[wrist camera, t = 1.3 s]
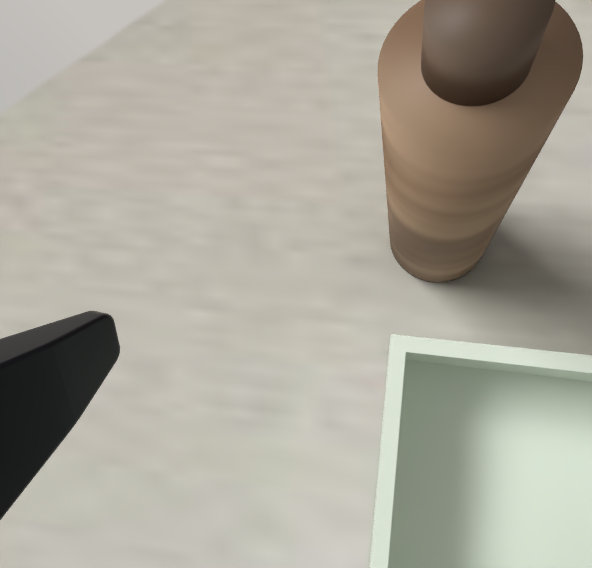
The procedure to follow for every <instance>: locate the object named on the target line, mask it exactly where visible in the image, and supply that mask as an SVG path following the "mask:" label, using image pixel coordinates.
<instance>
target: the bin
mask: <svg viewBox="0 0 592 568" xmlns="http://www.w3.org/2000/svg"><path fill="white" fill-rule="evenodd" d="M369 568H592V355H583V354H574V353H564V352H555V351H545V350H536V349H526V348H517V347H507V346H498V345H489V344H479V343H470V342H460V341H451V340H441V339H432V338H422V337H413V336H403V335H394V334H391V337H390V348H389V359H388V370H387V381H386V392H385V403H384V414H383V425H382V436H381V447H380V458H379V469H378V480H377V491H376V502H375V512H374V523H373V534H372V545H371V556H370V567H369Z"/></svg>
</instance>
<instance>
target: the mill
mask: <svg viewBox="0 0 592 568" xmlns="http://www.w3.org/2000/svg"><path fill="white" fill-rule="evenodd" d="M582 62H583V49H582V42H581V39H580V35H579V32H578V30H577V28H576V26H575V24H574V22H573V21H572V19H571V18H570V16H569V15H568V13H567V12H566V11H565V10H564V9H563V8H562V7H561V6H560V5H559V4H558V3H556V2H555V0H421V1H419V2H418V3H417V4H415V5H414V6H413V7H411V8H410V9H409V10H408V11H407V12H406V13H405V14H403V15H402V16H401V18H400V19H399V20H398V21H397V22H396V23H395V25H394V26H393V27H392V29H391V30H390V32H389V33H388V35H387V37H386V39H385V41H384V43H383V46H382V49H381V52H380V56H379V61H378V85H379V98H380V112H381V125H382V139H383V152H384V166H385V179H386V192H387V206H388V219H389V233H390V244H391V249H392V252H393V255H394V257H395V259H396V260H397V262H398V263H399V264H400V266H401V267H402V268H403V269H404V270H405V271H407V272H408V273H410V274H411V275H413V276H415V277H417V278H419V279H422V280H426V281H432V282H444V281H450V280H453V279H456V278H459V277H461V276H463V275H465V274H466V273H468V272H469V271H470V270H471V269H472V268H474V267H475V265H476V264H477V263H478V262H479V260H480V259H481V257H482V255H483V253H484V252H485V250H486V248H487V246H488V244H489V243H490V241H491V239H492V237H493V235H494V234H495V232H496V230H497V228H498V226H499V225H500V223H501V221H502V219H503V217H504V216H505V214H506V212H507V210H508V208H509V207H510V205H511V203H512V201H513V199H514V198H515V196H516V194H517V192H518V190H519V189H520V187H521V185H522V183H523V181H524V180H525V178H526V176H527V174H528V172H529V171H530V169H531V167H532V165H533V163H534V162H535V160H536V158H537V156H538V154H539V153H540V151H541V149H542V147H543V145H544V144H545V142H546V140H547V138H548V136H549V135H550V133H551V131H552V129H553V127H554V126H555V124H556V122H557V120H558V119H559V117H560V115H561V113H562V111H563V110H564V108H565V106H566V104H567V102H568V101H569V99H570V97H571V95H572V93H573V92H574V90H575V87H576V85H577V83H578V80H579V78H580V74H581V70H582Z"/></svg>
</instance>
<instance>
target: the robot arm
mask: <svg viewBox="0 0 592 568" xmlns="http://www.w3.org/2000/svg"><path fill="white" fill-rule="evenodd" d="M119 353H120V345H119V341H118V336H117V332H116V327H115V323H114V320H113V318H112V317H111V315H109V314H106V313H101V312H97V311H88V312H85V313H81V314H78V315H75V316H72V317H69V318H66V319H62V320H59V321H56V322H53V323H50V324H47V325H43V326H40V327H37V328H34V329H31V330H27V331H24V332H21V333H18V334H15V335H12V336H8V337H5V338H2V339H0V520H1V519H2V517H3V516H4V515H5V513H6V512H7V511H8V510H9V508H10V507H11V506H12V505H13V503H14V502H15V501H16V499H17V498H18V497H19V496H20V494H21V493H22V492H23V491H24V489H25V488H26V487H27V485H28V484H29V483H30V482H31V480H32V479H33V478H34V477H35V475H36V474H37V473H38V471H39V470H40V469H41V468H42V466H43V465H44V464H45V462H46V461H47V460H48V459H49V457H50V456H51V455H52V454H53V452H54V451H55V450H56V448H57V447H58V446H59V445H60V443H61V442H62V441H63V440H64V438H65V437H66V436H67V434H68V433H69V432H70V430H71V429H72V428H73V426H74V425H75V424H76V422H77V421H78V419H79V418H80V417H81V415H82V414H83V412H84V411H85V409H86V407H87V406H88V404H89V403H90V401H91V400H92V398H93V397H94V395H95V393H96V392H97V390H98V389H99V387H100V386H101V384H102V383H103V381H104V379H105V378H106V376H107V375H108V373H109V372H110V370H111V369H112V367H113V365H114V364H115V362H116V361H117V359H118V356H119Z"/></svg>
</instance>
